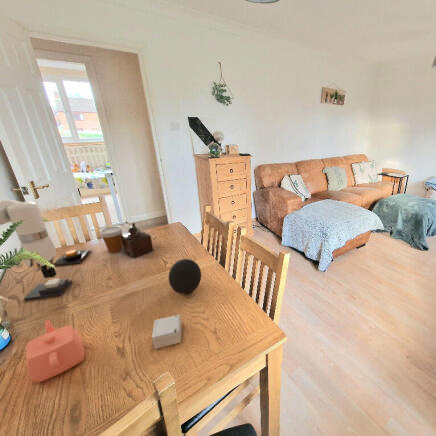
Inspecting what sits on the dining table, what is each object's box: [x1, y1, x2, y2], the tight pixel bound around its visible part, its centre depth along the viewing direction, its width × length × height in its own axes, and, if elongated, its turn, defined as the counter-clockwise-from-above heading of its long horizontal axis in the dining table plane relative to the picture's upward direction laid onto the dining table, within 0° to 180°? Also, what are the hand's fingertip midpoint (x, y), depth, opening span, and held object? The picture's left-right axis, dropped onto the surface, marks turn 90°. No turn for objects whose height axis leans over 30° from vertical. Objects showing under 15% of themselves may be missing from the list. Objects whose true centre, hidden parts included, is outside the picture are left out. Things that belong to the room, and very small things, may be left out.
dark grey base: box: [23, 278, 72, 302], centre depth 96 cm, size 11×9×3 cm
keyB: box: [64, 249, 77, 256], centre depth 118 cm, size 4×4×2 cm
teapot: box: [25, 319, 85, 383], centre depth 68 cm, size 12×18×10 cm, turn 46°
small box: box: [151, 314, 182, 350], centre depth 79 cm, size 8×8×5 cm
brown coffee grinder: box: [121, 222, 154, 259], centre depth 123 cm, size 16×11×18 cm
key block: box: [53, 249, 91, 267], centre depth 118 cm, size 10×12×3 cm
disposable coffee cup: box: [99, 226, 124, 254], centre depth 126 cm, size 10×10×12 cm
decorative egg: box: [168, 258, 202, 295], centre depth 98 cm, size 12×12×15 cm
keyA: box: [44, 278, 62, 288], centre depth 96 cm, size 4×4×2 cm
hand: (50, 276), depth 95 cm, fingers closed
